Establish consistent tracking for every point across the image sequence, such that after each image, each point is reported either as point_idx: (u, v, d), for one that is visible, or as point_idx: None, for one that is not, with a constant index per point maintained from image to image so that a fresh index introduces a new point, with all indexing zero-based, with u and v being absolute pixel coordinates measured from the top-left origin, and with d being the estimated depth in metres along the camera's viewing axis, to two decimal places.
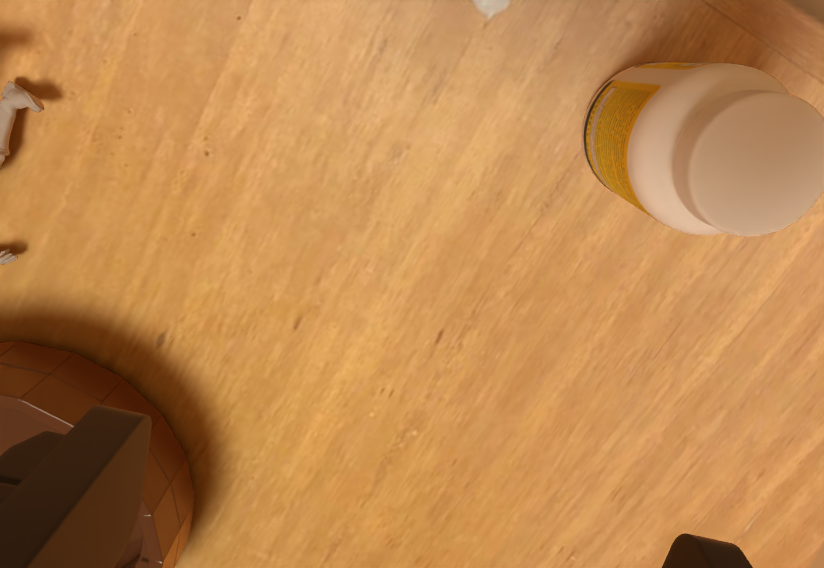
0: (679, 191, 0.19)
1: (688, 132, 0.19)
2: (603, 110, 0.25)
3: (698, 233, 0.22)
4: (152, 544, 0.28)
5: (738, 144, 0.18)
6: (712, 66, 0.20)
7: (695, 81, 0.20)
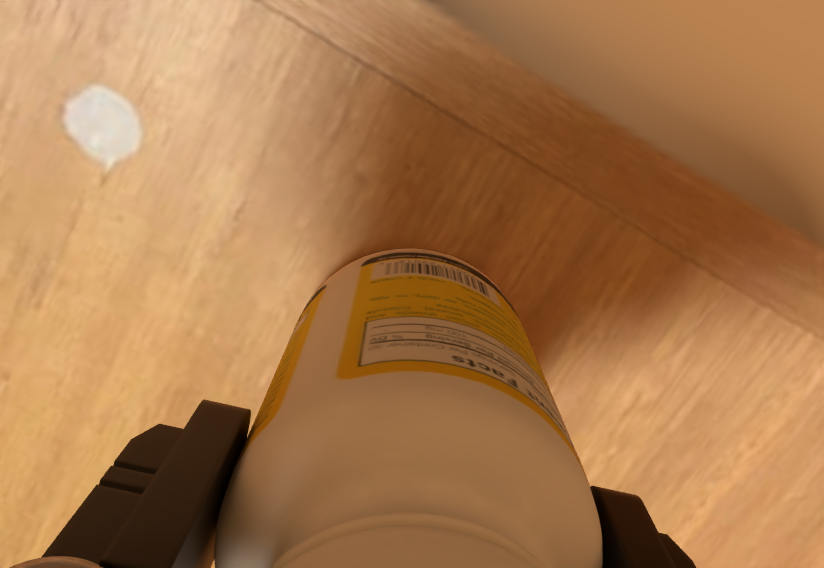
0: None
1: None
2: None
3: None
4: None
5: None
6: (365, 396, 0.08)
7: (315, 442, 0.08)
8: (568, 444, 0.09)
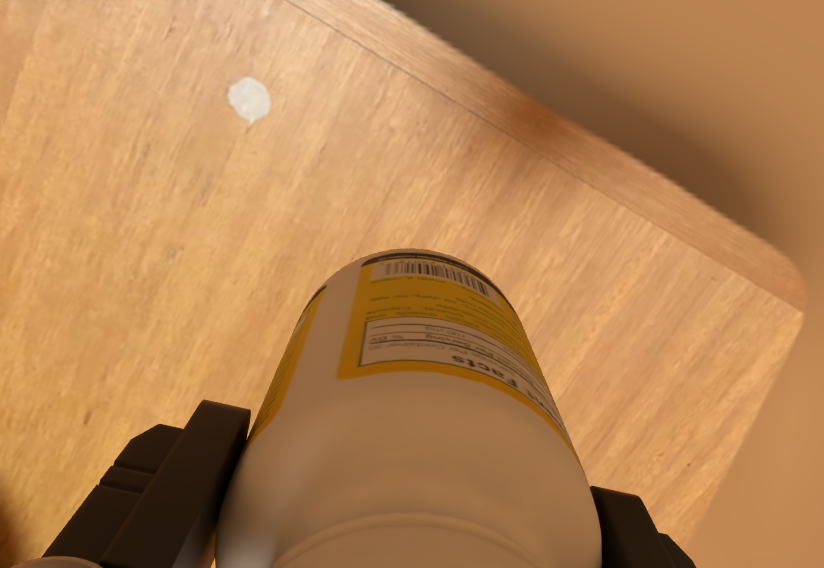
0: None
1: None
2: None
3: None
4: None
5: None
6: (366, 396, 0.08)
7: (315, 441, 0.08)
8: (567, 444, 0.09)
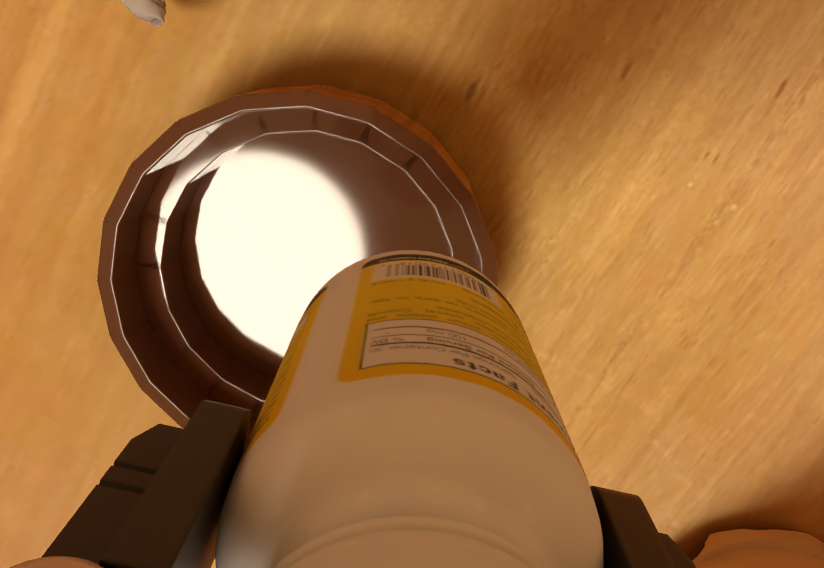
0: None
1: None
2: None
3: None
4: None
5: None
6: (366, 399, 0.08)
7: (316, 444, 0.08)
8: (569, 447, 0.09)
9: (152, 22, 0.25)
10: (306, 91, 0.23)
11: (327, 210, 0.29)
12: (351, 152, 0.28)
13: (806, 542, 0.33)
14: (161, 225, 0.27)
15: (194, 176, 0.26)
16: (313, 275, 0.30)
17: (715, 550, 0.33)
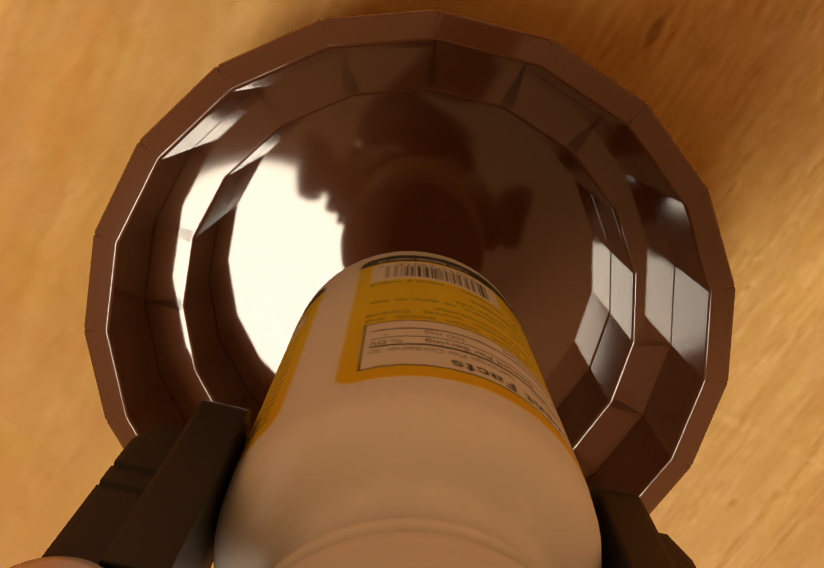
0: None
1: None
2: (279, 366, 0.13)
3: None
4: (719, 347, 0.16)
5: None
6: (364, 400, 0.08)
7: (313, 446, 0.08)
8: (567, 448, 0.09)
9: None
10: None
11: (431, 216, 0.19)
12: (471, 127, 0.19)
13: None
14: (185, 242, 0.17)
15: (238, 164, 0.17)
16: None
17: None
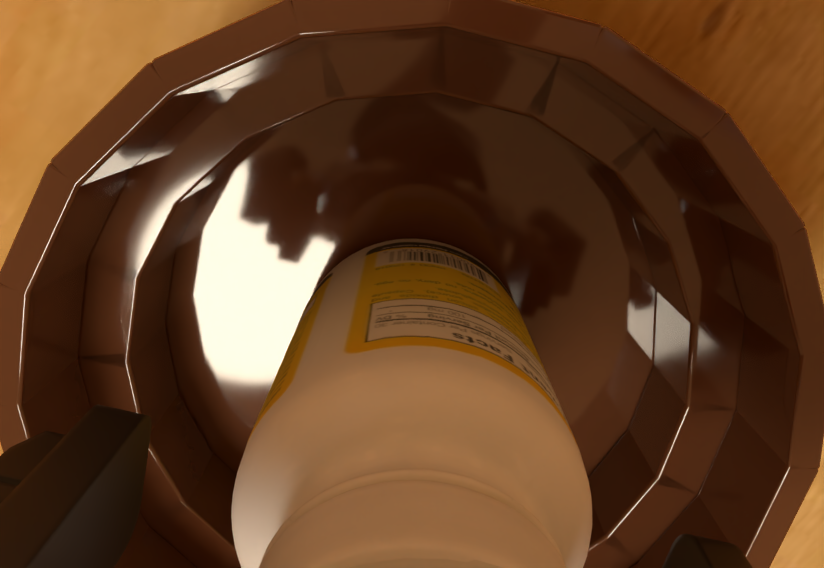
0: None
1: None
2: None
3: None
4: (810, 426, 0.12)
5: None
6: (372, 367, 0.09)
7: (326, 408, 0.09)
8: (560, 414, 0.10)
9: None
10: None
11: None
12: (486, 139, 0.15)
13: None
14: (127, 284, 0.14)
15: (191, 187, 0.13)
16: None
17: None
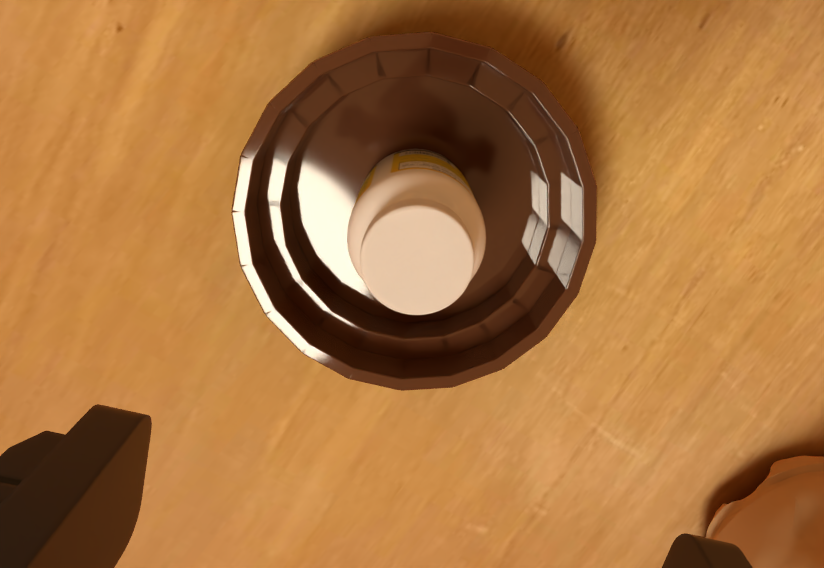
0: None
1: (365, 232, 0.24)
2: None
3: None
4: (590, 221, 0.28)
5: (396, 245, 0.23)
6: (402, 173, 0.25)
7: (385, 186, 0.25)
8: (474, 198, 0.26)
9: None
10: (431, 33, 0.26)
11: None
12: (452, 99, 0.31)
13: None
14: (283, 165, 0.30)
15: (315, 118, 0.29)
16: None
17: (782, 474, 0.35)
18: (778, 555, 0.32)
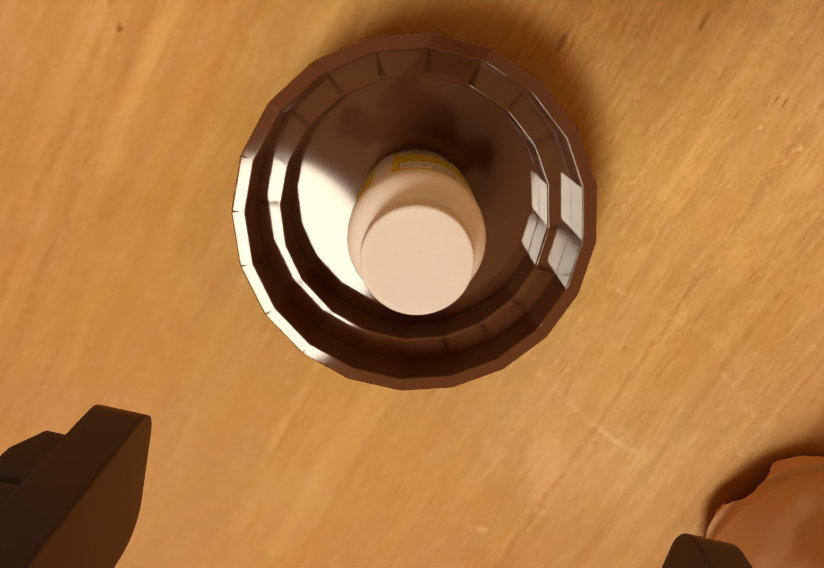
0: None
1: (365, 232, 0.24)
2: None
3: None
4: (590, 221, 0.28)
5: (396, 245, 0.23)
6: (402, 173, 0.25)
7: (385, 186, 0.25)
8: (474, 198, 0.26)
9: None
10: (431, 33, 0.26)
11: None
12: (452, 99, 0.31)
13: None
14: (283, 165, 0.30)
15: (315, 118, 0.29)
16: None
17: (781, 474, 0.35)
18: (778, 555, 0.32)
